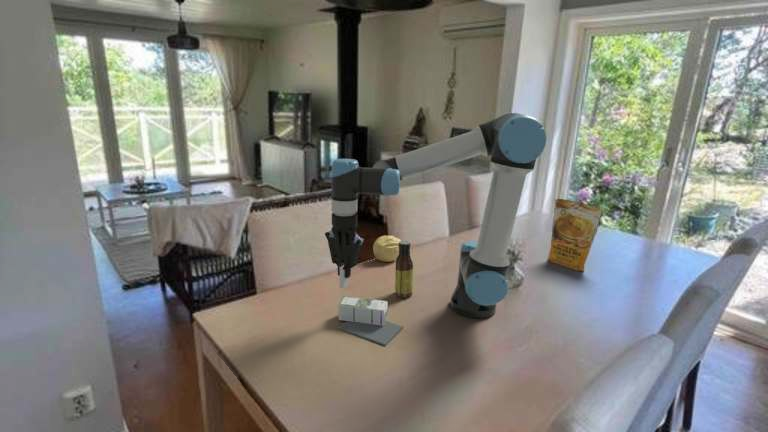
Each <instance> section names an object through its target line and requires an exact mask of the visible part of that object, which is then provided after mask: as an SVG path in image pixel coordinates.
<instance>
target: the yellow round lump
mask: <svg viewBox="0 0 768 432" xmlns="http://www.w3.org/2000/svg"><path fill="white" fill-rule="evenodd" d="M400 241H402V240H401V239H400V238H398V237H396V236H394V235H381V236H379V237H377V239H376V240H374V243H373V246H372V248H373V249H372V251H373V254H374V257H375V259H377V260H379V261H380V262H385V263H390V262H393V261H396V258H397V257H398V255H399V242H400Z"/></svg>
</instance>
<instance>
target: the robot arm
mask: <svg viewBox="0 0 768 432" xmlns="http://www.w3.org/2000/svg"><path fill="white" fill-rule="evenodd" d="M546 144H547V133H546V129H545V128H544V126H543V124H542V123H541V121H539V120H537V118H535V117H533V116H532V115H529V114H526V113H525V114H521V113H517V112H516V113H515V112H510V113H505V114H503V115H500V116H498V117H496V118H494V119H491V120H488V121H486V122H485V123H484V122H483V123H481V124H479V125H476V127H475V128H474V129H473V130H471V131H469V132H468V131H467V132H465V133H462V134H458V135H456V136H454V137H450V138H447V139H444V140H441V141H439V142H435V143H432V144H428V145H426V146H424V147H420V148H417V149H415V150H411V151H408V152H405V153H403V154H399V155H396V156H392V157H390V158H387V159H379V160H377V161H376V162H375V163H374V164H373V166H372V167H362V166H360V165H359V161H358V160H357V159H354V158H337V159H334V160H333V161H332V163H331V174H330V180H331V181H330V182H331V206H330V207H331V209H330V210H331V226H332V227H331V230H329V231H326V232H325V233H324V236H325V237H326V240H327V244H328V249H329V254H330V258H331V262H332V264H335V265H336V266H337V276H338V277H339V288H340V289H345V288H347V287H348V286H349V282H350V281H349V279H350V277H351V275H352V274H351V271H352V268H354V267H356V266H357V265H358V260H359V256H360V252H361V249H362V245H363V243H364V242H365V238H364V237H360V235H359V234H358V230H357V227H358V201H359V200H358V199H359V198H358V197H359V196H358V195H373V196H374V195H375V196H385V197H388V196H397V195H399V194H400V187H401V186H400V185H401V181H403V180H405V179H408V178H412V177H415V176H417V175H422V174H424V173H429V172H430V171H433V170H438V169H441V168H443V167H446V166H451V165H452V164H456V163H460V162H462V161H466V160H469V159H472V158H474V157H478V156H481V155H482V156H483V157H489V156H491V157H490V160H489V163H490V164H491V165H492V167H493V173H492V178H491V181H490V186H489V190H488V194H487V199H486V204H485V209H484V212H483V218H482V223H481V226H480V230H479V235H478V240H469V241H465V242H463V243H462V244H461V247H460V250H459V252H460V253H459V265H458V266H459V267H458V274H457V284H456V285H455V288H454V289H453V290H454V291H452V295H451V296H450V305H449V306H450V308H451V309H452V310H453V311H454V312H455V313H457V314H458V315H461V316H463V317H467V318H472V319H486V318H487V319H488V318H489V317H492V316H494V314H495V313H496V310H497V309H496V308H497V304H499V303H500V302H501V301H503V300H504V299H505V298H506V296H507V295H508V291H509V284H508V282H509V281H508V280H507V276H508V271H509V268H510V264H511V261H510V259H509V257H508V256H507V253H508V249H509V246H510V241H511V238H512V233H513V230H514V225H515V221H516V216H517V214H518V209H519V207H520V206H519V205H520V201H521V197H522V193H523V190H524V185H525V182H526V178H527V175H528V174H530V173H531V172H533V171H534V169H535V166H536V163H537V159H538V158H539V156H541V154H542V153H543V152H544V149H545V148H546Z"/></svg>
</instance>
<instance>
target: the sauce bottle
mask: <svg viewBox="0 0 768 432" xmlns="http://www.w3.org/2000/svg"><path fill="white" fill-rule="evenodd" d="M410 249H411V241H409V240H401V241H400V242H399V255H398V257H397V258H396V259H395V270H394V271H395V274H394V275H395V276H394V277H395V278H394V279H395V282H394V283H395V284H394V290H395V295H396V296H397V297H399V298H403V299H406V298H410V297H411V296H413V291H414V289H413V288H414V287H413V286H414V263H413V260H412V257H411V252H410Z"/></svg>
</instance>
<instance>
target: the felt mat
mask: <svg viewBox="0 0 768 432" xmlns="http://www.w3.org/2000/svg"><path fill="white" fill-rule="evenodd" d="M338 329H339V330H341V331H345V332H347V333H349V334H351V335H355V336H358V337H359V338H363V339H365V340H368V341H370V342H373V343H375V344H379V345H382V346H384V347H386V346H387V345H388V344H389V343H390V342H391V341H392V340H393V339H394V338H395V337H396V336H397V335H398V334H399V333H400V332H401V331H402V330H403V329H404V326H403V325H400V324H397V323H393V322H390V321H387V320H385V323H384V326H381V325H373V324H366V323H359V322H351V321H345V322H344V323H343V324H342V325H341V326H340V327H339V328H338Z"/></svg>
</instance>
